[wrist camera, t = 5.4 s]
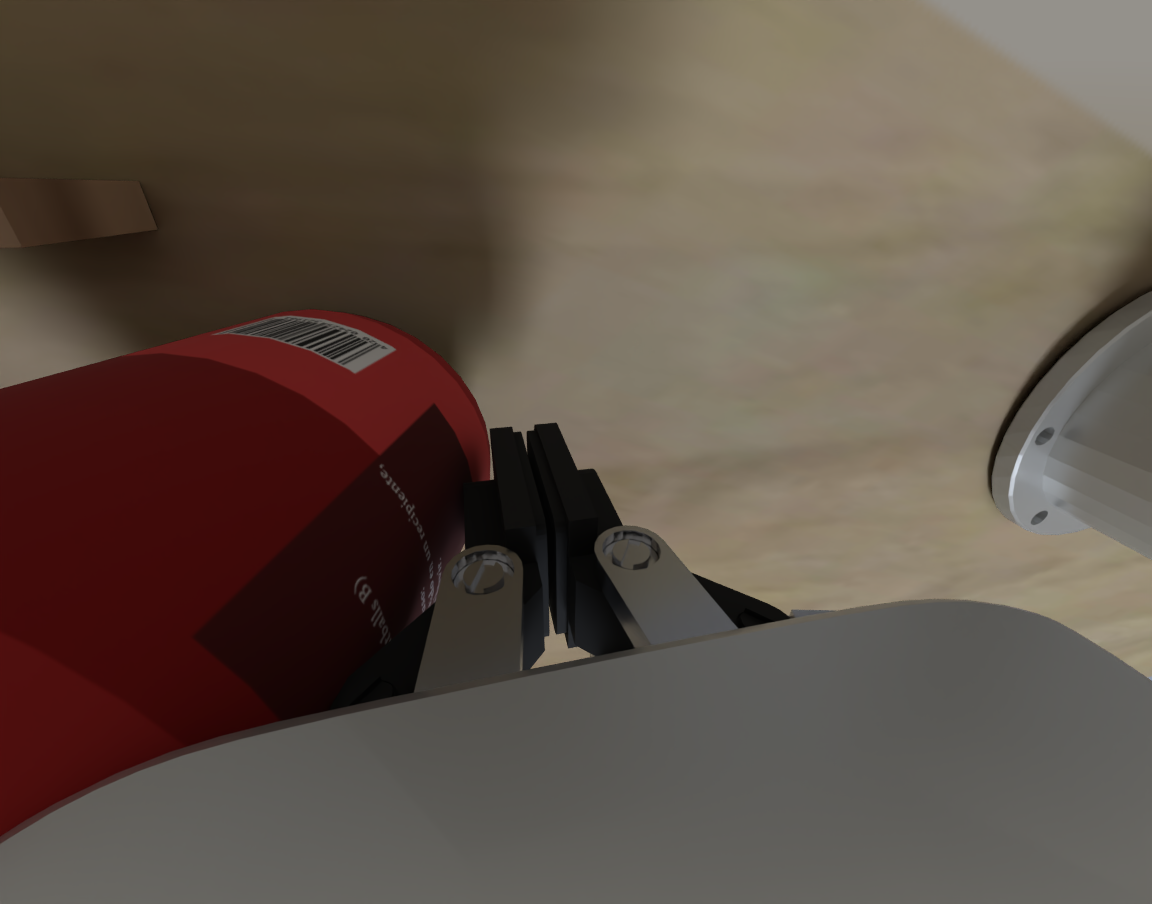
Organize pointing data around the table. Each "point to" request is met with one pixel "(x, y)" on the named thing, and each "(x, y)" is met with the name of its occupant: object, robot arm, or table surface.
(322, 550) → the canned food
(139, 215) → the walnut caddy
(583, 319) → the table surface
